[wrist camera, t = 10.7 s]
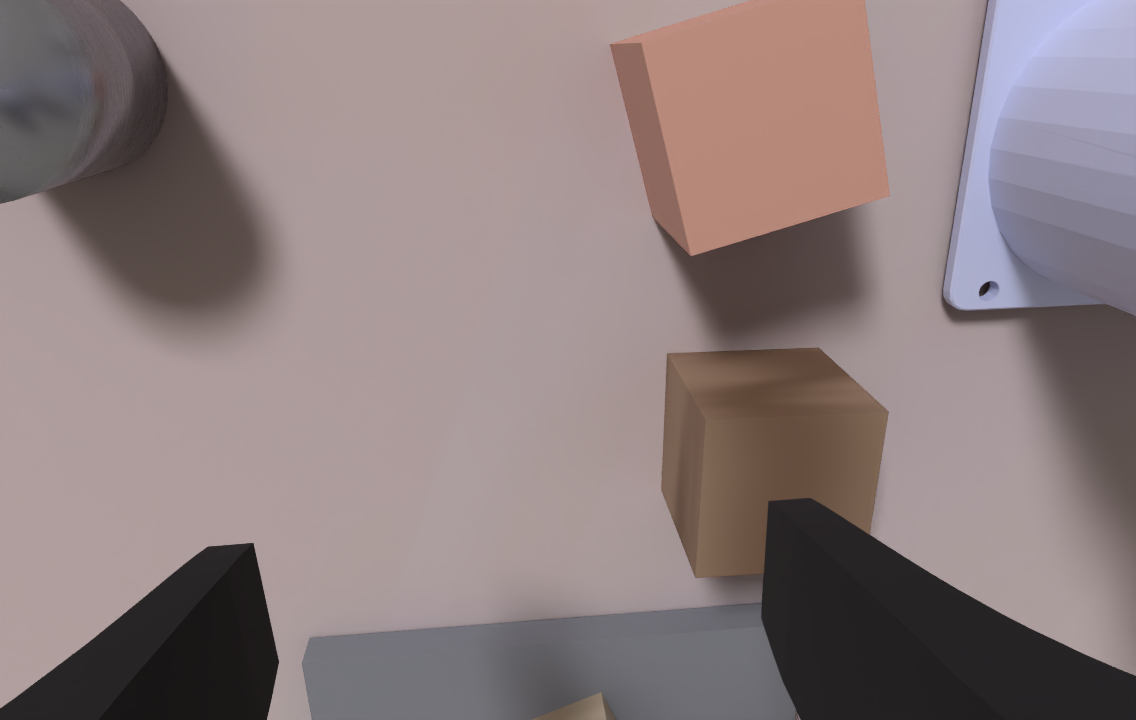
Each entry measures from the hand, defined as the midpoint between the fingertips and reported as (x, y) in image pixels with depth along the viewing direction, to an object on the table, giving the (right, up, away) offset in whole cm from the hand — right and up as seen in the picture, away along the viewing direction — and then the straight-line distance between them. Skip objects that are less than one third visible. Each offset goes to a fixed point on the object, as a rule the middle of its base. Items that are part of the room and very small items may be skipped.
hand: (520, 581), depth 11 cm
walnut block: (+5, +2, +10) cm, 12 cm away
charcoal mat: (0, -9, +13) cm, 16 cm away
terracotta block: (+4, +9, +7) cm, 12 cm away
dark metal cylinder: (-10, +9, +6) cm, 15 cm away
